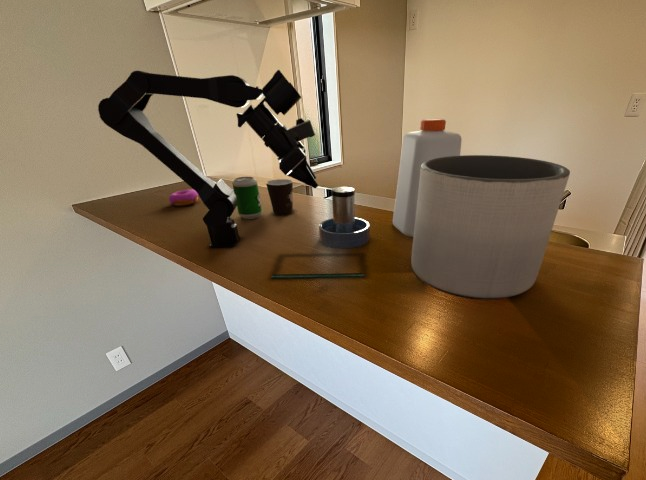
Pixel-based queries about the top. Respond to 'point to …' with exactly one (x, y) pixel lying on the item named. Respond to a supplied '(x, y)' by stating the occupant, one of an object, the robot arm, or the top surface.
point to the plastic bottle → (419, 167)
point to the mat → (318, 276)
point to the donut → (184, 197)
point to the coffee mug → (281, 195)
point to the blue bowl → (344, 235)
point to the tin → (343, 209)
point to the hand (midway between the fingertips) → (315, 182)
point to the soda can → (247, 197)
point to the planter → (484, 223)
